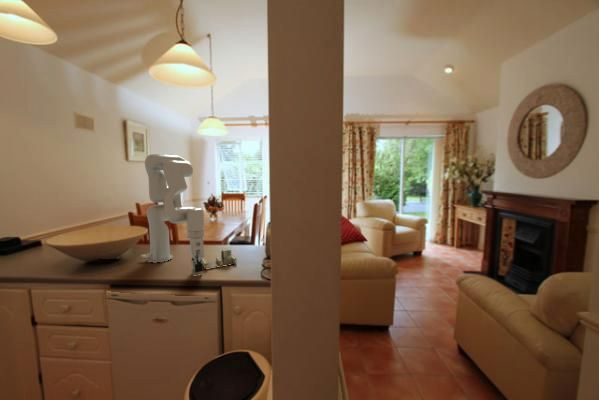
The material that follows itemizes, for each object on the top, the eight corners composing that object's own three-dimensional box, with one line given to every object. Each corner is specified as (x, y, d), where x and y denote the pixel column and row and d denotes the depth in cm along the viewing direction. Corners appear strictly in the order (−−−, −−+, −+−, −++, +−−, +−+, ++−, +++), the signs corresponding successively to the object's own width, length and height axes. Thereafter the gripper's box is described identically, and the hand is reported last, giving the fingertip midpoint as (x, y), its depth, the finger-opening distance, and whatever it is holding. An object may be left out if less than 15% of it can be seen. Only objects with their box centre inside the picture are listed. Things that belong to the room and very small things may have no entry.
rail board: (204, 270, 125) (204, 255, 124) (201, 265, 132) (201, 251, 131) (236, 264, 134) (236, 250, 133) (232, 260, 141) (232, 246, 140)
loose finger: (193, 277, 117) (192, 262, 116) (191, 274, 120) (191, 260, 119) (203, 275, 119) (202, 261, 118) (201, 272, 122) (201, 258, 122)
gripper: (207, 236, 112) (208, 272, 113) (200, 229, 127) (201, 262, 128) (190, 238, 108) (191, 276, 109) (184, 231, 123) (186, 264, 124)
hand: (197, 268), depth 119 cm, fingers open, 9 cm apart
